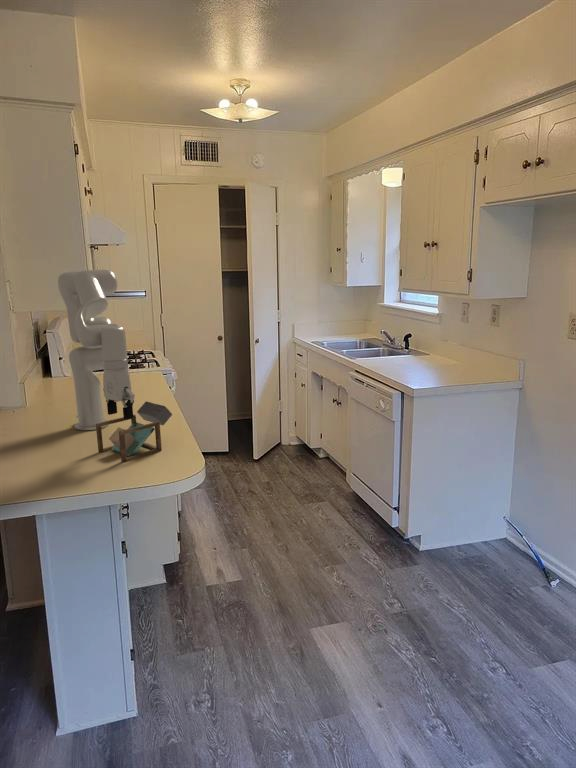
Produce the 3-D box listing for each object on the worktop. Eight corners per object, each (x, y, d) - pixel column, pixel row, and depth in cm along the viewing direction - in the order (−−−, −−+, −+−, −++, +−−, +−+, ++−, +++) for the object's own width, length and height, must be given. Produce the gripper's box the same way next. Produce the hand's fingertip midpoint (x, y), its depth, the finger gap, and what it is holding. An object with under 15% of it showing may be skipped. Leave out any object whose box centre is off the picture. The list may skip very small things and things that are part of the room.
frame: (98, 452, 186) (95, 423, 184) (136, 441, 197) (133, 414, 195) (123, 462, 176) (120, 432, 174) (161, 450, 186) (159, 422, 184)
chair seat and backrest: (116, 453, 189) (108, 445, 186) (153, 409, 198) (145, 401, 195) (134, 460, 181) (126, 452, 179) (172, 414, 190) (165, 406, 188)
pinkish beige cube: (117, 448, 186) (108, 438, 183) (127, 436, 188) (118, 427, 185) (125, 451, 183) (116, 441, 180) (135, 439, 185) (126, 430, 182)
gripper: (91, 364, 182) (96, 414, 185) (119, 369, 170) (124, 423, 174) (112, 360, 187) (116, 409, 190) (140, 365, 175) (145, 418, 179)
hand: (120, 416), depth 182 cm, fingers open, 9 cm apart
